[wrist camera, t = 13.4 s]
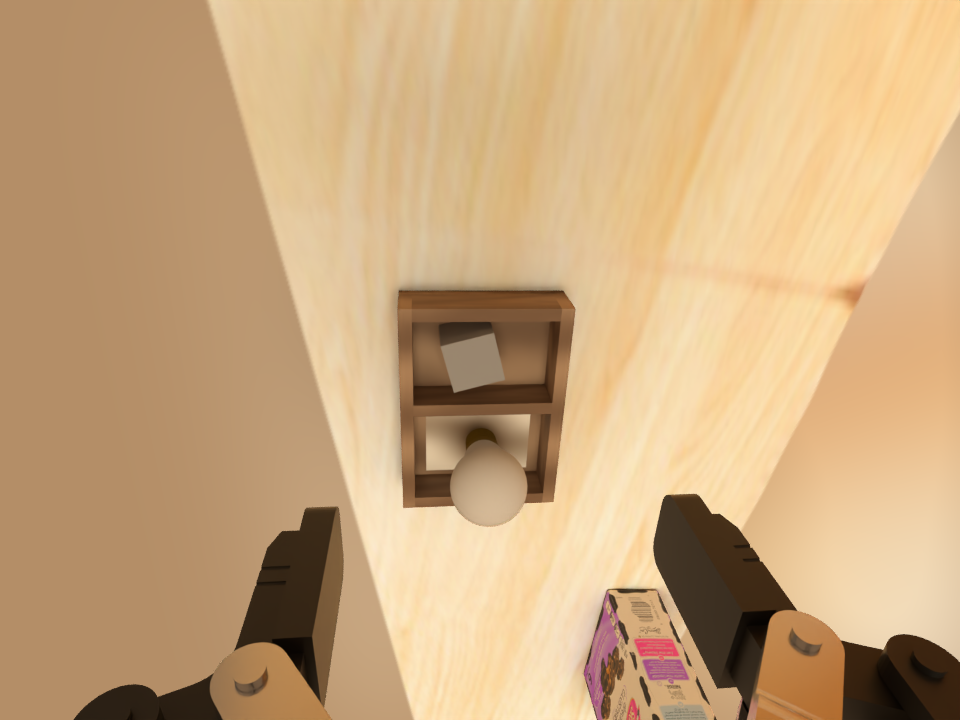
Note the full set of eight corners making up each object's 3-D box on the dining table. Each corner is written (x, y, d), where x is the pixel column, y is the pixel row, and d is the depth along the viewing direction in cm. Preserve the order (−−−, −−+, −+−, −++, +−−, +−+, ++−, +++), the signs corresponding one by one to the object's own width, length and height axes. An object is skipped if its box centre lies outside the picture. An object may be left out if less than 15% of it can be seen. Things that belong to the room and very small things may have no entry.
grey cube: (438, 325, 45) (440, 346, 42) (487, 312, 45) (494, 332, 42) (451, 368, 47) (454, 392, 44) (498, 356, 47) (505, 379, 44)
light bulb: (496, 470, 52) (513, 551, 43) (435, 452, 51) (439, 532, 42) (524, 418, 50) (547, 491, 41) (461, 397, 48) (471, 469, 39)
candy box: (606, 587, 61) (666, 747, 47) (658, 587, 62) (733, 745, 48) (581, 673, 67) (627, 840, 53) (629, 672, 68) (688, 836, 53)
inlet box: (398, 290, 45) (397, 309, 41) (563, 290, 46) (575, 308, 42) (404, 478, 52) (403, 507, 49) (544, 473, 54) (553, 502, 50)
